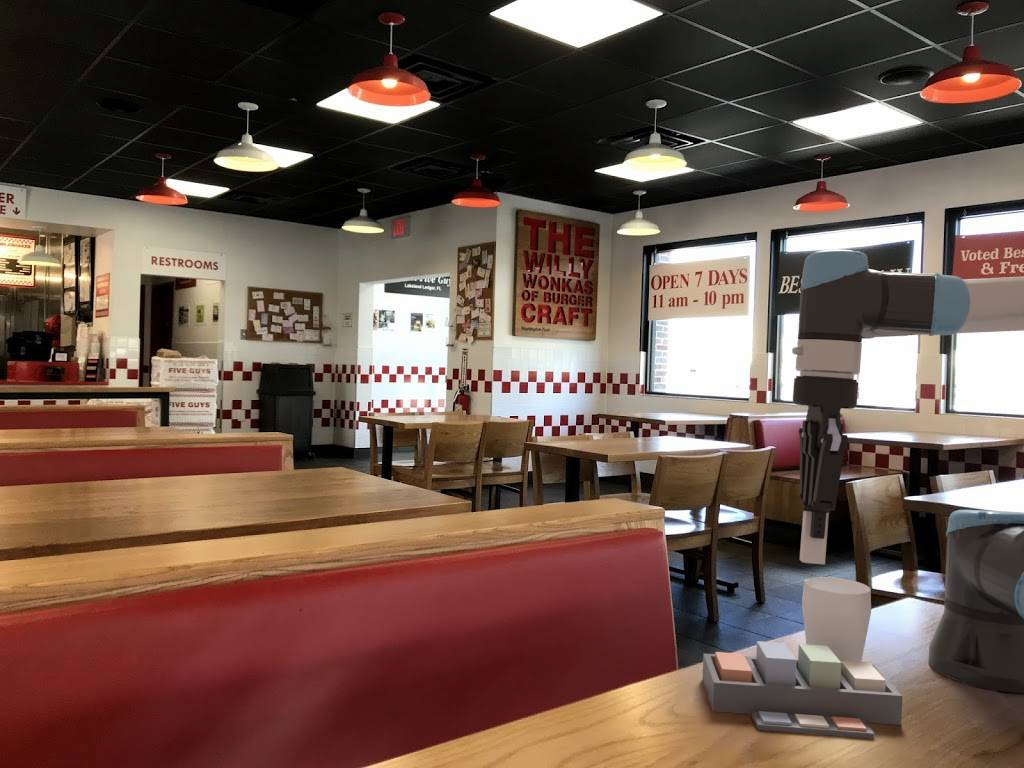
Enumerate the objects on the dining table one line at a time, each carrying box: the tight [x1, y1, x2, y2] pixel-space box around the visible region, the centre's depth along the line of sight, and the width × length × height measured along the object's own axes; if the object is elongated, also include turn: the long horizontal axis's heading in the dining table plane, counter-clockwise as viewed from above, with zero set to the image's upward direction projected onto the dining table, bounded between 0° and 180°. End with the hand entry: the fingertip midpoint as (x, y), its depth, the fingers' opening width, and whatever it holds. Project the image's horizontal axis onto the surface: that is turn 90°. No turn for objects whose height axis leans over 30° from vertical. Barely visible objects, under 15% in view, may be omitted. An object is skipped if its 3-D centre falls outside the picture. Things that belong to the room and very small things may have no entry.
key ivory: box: [840, 660, 886, 692], centre depth 100 cm, size 4×6×4 cm, turn 174°
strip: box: [751, 711, 875, 740], centre depth 94 cm, size 13×4×1 cm, turn 84°
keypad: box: [702, 653, 903, 726], centre depth 101 cm, size 22×10×4 cm, turn 84°
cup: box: [801, 576, 872, 662], centre depth 112 cm, size 9×9×12 cm
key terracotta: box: [714, 651, 752, 683], centre depth 102 cm, size 4×6×4 cm, turn 174°
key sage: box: [797, 643, 841, 689], centre depth 101 cm, size 4×6×4 cm, turn 174°
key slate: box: [755, 640, 798, 686], centre depth 101 cm, size 4×6×4 cm, turn 174°
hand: (812, 561), depth 101 cm, fingers closed
